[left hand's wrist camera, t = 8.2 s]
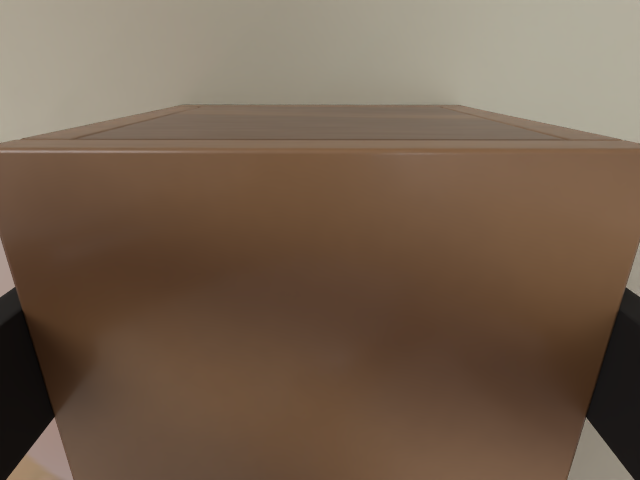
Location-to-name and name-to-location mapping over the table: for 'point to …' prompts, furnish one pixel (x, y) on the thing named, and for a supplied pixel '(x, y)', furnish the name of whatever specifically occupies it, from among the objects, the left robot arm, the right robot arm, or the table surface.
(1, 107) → the table surface
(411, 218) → the cabinet
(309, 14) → the table surface
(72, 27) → the table surface
